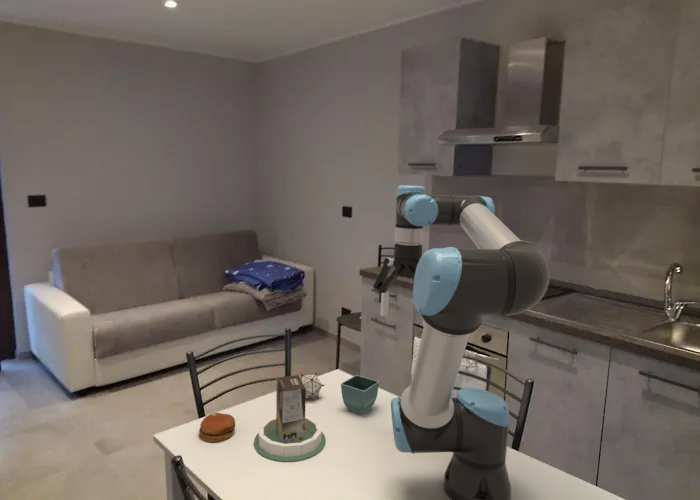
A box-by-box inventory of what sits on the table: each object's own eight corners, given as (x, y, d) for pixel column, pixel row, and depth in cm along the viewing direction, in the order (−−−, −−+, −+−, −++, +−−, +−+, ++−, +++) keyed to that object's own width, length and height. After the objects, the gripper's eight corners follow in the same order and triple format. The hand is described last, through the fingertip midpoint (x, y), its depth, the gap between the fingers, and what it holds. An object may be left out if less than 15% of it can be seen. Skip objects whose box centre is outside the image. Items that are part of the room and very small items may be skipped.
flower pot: (339, 411, 152) (339, 383, 151) (355, 401, 160) (356, 374, 158) (363, 420, 147) (364, 391, 146) (378, 409, 155) (380, 381, 153)
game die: (313, 411, 160) (318, 395, 153) (289, 399, 161) (293, 383, 154) (324, 388, 166) (330, 373, 159) (301, 377, 167) (306, 361, 160)
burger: (214, 447, 131) (214, 430, 130) (192, 435, 136) (192, 419, 135) (243, 432, 139) (243, 416, 138) (221, 421, 144) (221, 406, 143)
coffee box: (305, 446, 131) (306, 388, 129) (281, 449, 129) (282, 391, 127) (297, 429, 140) (298, 374, 137) (275, 432, 138) (275, 377, 135)
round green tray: (339, 444, 133) (340, 432, 133) (279, 471, 121) (280, 457, 120) (298, 417, 147) (298, 406, 147) (240, 438, 135) (240, 426, 134)
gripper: (457, 247, 130) (452, 326, 133) (378, 237, 145) (375, 308, 148) (443, 249, 124) (438, 332, 127) (363, 239, 139) (360, 313, 142)
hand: (404, 319), depth 137 cm, fingers open, 13 cm apart
